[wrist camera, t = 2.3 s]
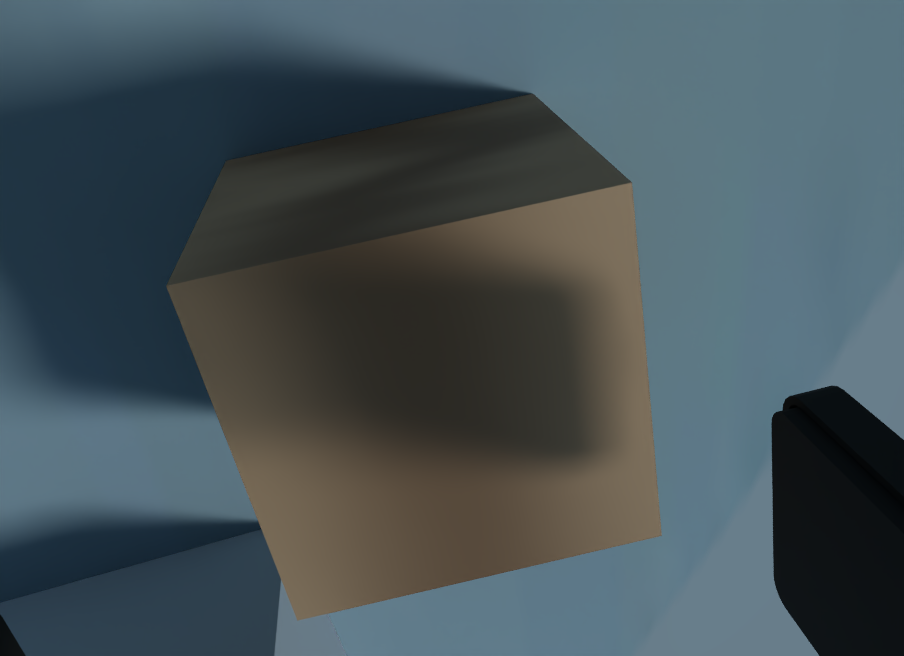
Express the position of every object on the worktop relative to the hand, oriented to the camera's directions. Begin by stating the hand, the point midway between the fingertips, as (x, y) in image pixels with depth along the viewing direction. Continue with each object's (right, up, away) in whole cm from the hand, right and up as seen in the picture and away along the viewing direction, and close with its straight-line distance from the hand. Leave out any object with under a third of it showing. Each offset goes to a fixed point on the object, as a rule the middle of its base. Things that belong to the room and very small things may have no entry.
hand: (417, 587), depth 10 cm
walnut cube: (0, +4, +7) cm, 8 cm away
